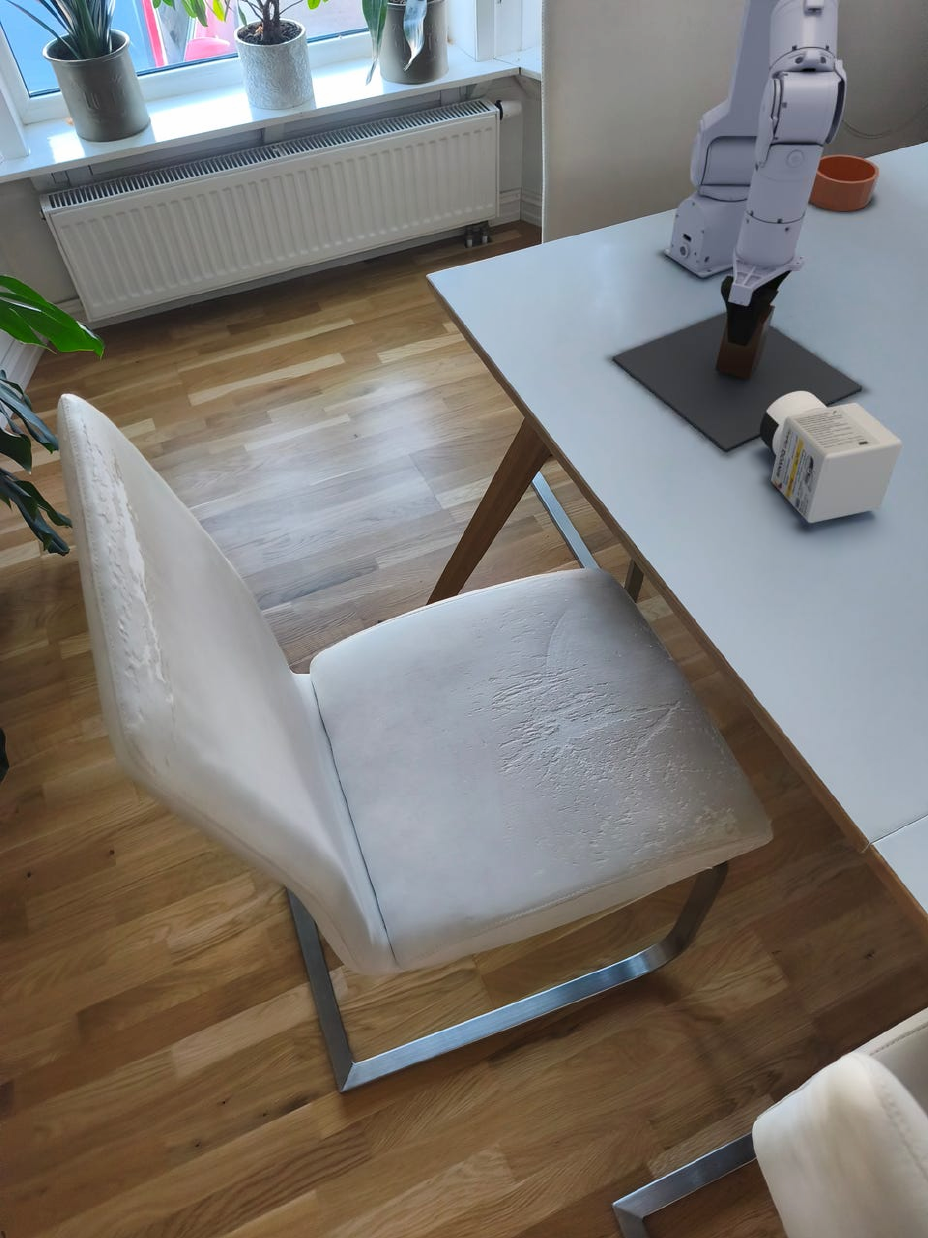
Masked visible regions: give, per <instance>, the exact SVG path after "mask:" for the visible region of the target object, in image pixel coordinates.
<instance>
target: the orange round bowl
mask: <svg viewBox="0 0 928 1238" xmlns="http://www.w3.org/2000/svg"><path fill="white" fill-rule="evenodd" d="M879 176H880V168H879V167H878V166H877V165H876V164H875V162H873V161H870V160H868V159H866V158H864V157H860V156H855V155H851V154H850V155H849V154H830V155H824V156H821V159H820V162H819V166H818V169H817V173H816V176H815V180H814V184H813V187H812V191H811V194H810V198H809V201H808V202H809V203H811V204H813V205H814V206H817V207H819V208H821V209H824V210H828V211H837V212H853V211H857V210H861V209H864V208H865V207H866V206H868V205H869V203H870V201H871V199H872V198H873V194H874V191H875V188H876V185H877V182H878V179H879Z"/></svg>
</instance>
